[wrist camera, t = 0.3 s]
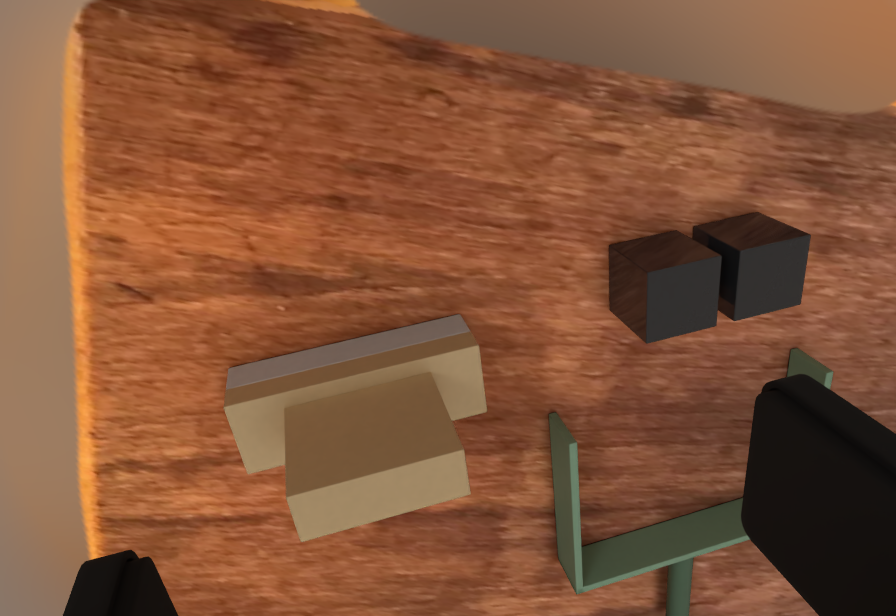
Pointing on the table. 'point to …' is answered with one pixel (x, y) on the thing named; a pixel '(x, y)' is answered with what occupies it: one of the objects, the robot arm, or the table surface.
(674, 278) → the black cube
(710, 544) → the green u-shaped rake
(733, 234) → the black metallic cube
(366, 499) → the wooden block stamp
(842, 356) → the table surface
